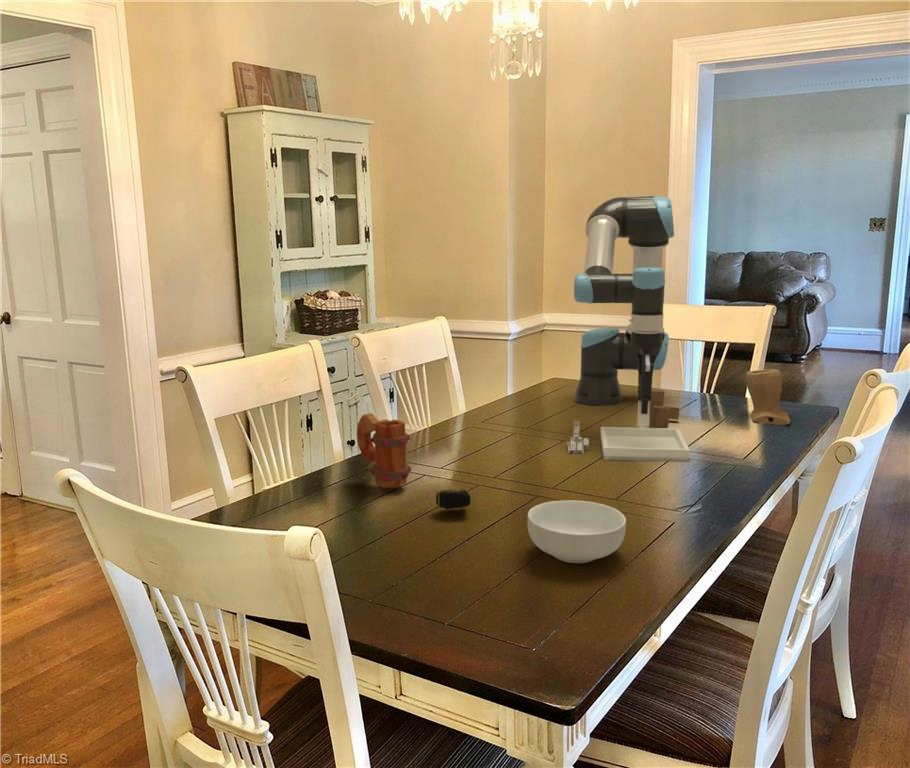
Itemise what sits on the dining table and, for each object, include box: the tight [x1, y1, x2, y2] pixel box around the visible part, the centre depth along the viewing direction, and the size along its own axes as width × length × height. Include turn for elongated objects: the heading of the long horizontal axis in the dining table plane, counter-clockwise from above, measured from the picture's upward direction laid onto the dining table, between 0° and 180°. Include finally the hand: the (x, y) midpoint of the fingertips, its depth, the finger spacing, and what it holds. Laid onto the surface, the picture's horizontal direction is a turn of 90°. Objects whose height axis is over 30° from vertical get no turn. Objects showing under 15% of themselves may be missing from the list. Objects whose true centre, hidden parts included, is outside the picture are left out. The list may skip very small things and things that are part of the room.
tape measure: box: [435, 489, 472, 511], centre depth 156 cm, size 7×7×4 cm
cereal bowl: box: [526, 499, 627, 564], centre depth 135 cm, size 17×17×7 cm
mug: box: [356, 412, 412, 489], centre depth 173 cm, size 15×8×15 cm, turn 47°
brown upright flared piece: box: [745, 368, 791, 426], centre depth 221 cm, size 15×12×15 cm
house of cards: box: [566, 420, 590, 454], centre depth 196 cm, size 9×9×8 cm
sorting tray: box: [600, 426, 691, 462], centre depth 196 cm, size 20×20×3 cm
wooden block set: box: [648, 388, 680, 428], centre depth 215 cm, size 18×9×10 cm, turn 160°
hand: (643, 425), depth 195 cm, fingers closed
